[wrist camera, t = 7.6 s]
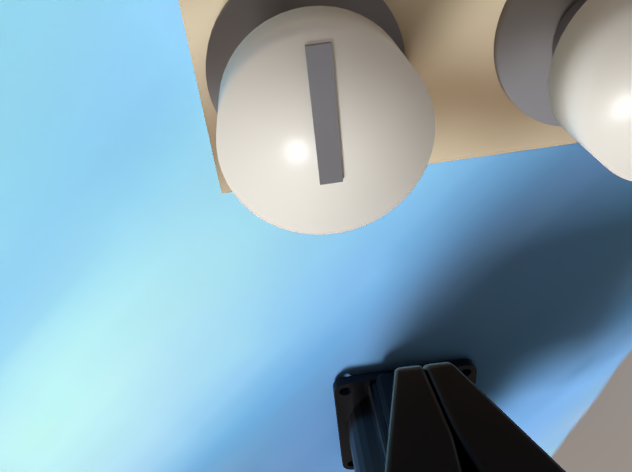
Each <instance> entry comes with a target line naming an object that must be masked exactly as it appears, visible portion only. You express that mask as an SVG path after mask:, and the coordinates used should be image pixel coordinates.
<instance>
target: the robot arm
mask: <svg viewBox="0 0 632 472" xmlns="http://www.w3.org/2000/svg"><path fill="white" fill-rule="evenodd" d="M475 382H476V367H475V365H474V363H473V361H472V360H470V359H458V360H452V361H445V362H439V363H432V364H426V365H416V366H407V367H399V368H397V369H393V370H387V371H380V372H374V373H367V374H361V375H355V376H348V377H342V378H339V379H337V380H336V381H335V382H334V383H333V391H334V399H335V407H336V415H337V424H338V432H339V440H340V448H341V456H342V463H343V466H344V468H346V469H354V470H355V472H566V471H565V470H563V469H562V468H561V467H560V466H559V465H558V464H557V463H556V462H555V461H554V460H553V459H552V458H551V457H550V456H549V455H548V454H547V453H546V452H545V451H544V450H543V449H542V448H541V447H539V446H538V445H537V444H536V443H535V442H534V441H533V440H532V439H531V438H530V437H529V436H528V435H527V434H526V433H525V432H524V431H523V430H522V429H521V428H520V427H519V426H517V425H516V424H515V423H514V422H513V421H512V420H511V419H510V418H509V417H508V416H507V415H506V414H505V413H504V412H503V411H502V410H501V409H500V408H499V407H498V406H497V405H495V404H494V403H493V402H492V401H491V400H490V399H489V398H488V397H487V396H486V395H485V394H484V393H483V392H482V391H481V390H480V389H479V388H478V387H477V386H476V385H475Z"/></svg>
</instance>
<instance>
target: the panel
mask: <svg viewBox="0 0 632 472" xmlns="http://www.w3.org/2000/svg"><path fill="white" fill-rule="evenodd" d="M577 1H578V0H179V5H180V9H181V14H182V18H183V23H184V27H185V32H186V36H187V41H188V45H189V49H190V54H191V58H192V63H193V67H194V72H195V76H196V81H197V85H198V89H199V94H200V98H201V103H202V107H203V112H204V116H205V121H206V125H207V130H208V134H209V138H210V143H211V147H212V152H213V156H214V161H215V165H216V170H217V174H218V179H219V183H220V187H221V192H222V193H228V192H232V190H231V189H230V187H229V186H228V184H227V182H226V180H225V178H224V175H223V173H222V171H221V167H220V164H219V161H218V155H217V148H216V128H217V114H218V100H219V91H220V84H221V80H222V77H223V73H224V70H225V68H226V66H227V64H228V61H229V59H230V58H231V56H232V54H233V53H234V51H235V50H236V48H237V47H238V46H239V44H240V43H241V42H242V41H243V39H244V38H245V37H246V36H247V35H248V34H250V33H251V32H252V31H253V30H254V29H255V28H256V27H258V26H259V25H261V24H262V23H263V22H265V21H266V20H268V19H270V18H272V17H274V16H276V15H278V14H280V13H283V12H286V11H289V10H292V9H296V8H301V7H306V6H332V7H338V8H342V9H347V10H350V11H352V12H355V13H358V14H360V15H362V16H364V17H366V18H368V19H369V20H371V21H373V22H374V23H375V24H377V25H378V26H379V27H381V28H382V29H383V30H384V31H385V32H386V33H387V34H388V35H389V36H390V37H391V38H392V40H393V41H394V42H395V44H396V45H397V46H398V48H399V49H400V50H401V51H402V53H403V54H404V55H405V57H406V58H407V59H408V61H409V62H410V63H411V65H412V66H413V67H414V69H415V70H416V71H417V73H418V74H419V75H420V77H421V78H422V80H423V82H424V84H425V86H426V88H427V90H428V92H429V95H430V98H431V101H432V104H433V110H434V115H435V138H434V144H433V149H432V153H431V156H430V159H429V162H428V164H432V163H439V162H446V161H453V160H460V159H467V158H474V157H481V156H488V155H495V154H502V153H509V152H516V151H523V150H530V149H538V148H545V147H552V146H559V145H566V144H573V143H578V142H577V141H576V140H575V139H574V138H573V137H572V136H571V135H569V134H568V133H567V132H566V131H565V130H564V129H563V127H562V126H561V125H560V124H559V122H558V121H557V119H556V117H555V115H554V113H553V110H552V108H551V104H550V100H549V91H548V80H549V71H550V66H551V61H552V58H553V57H552V44H553V39H554V35H555V32H556V29H557V27H558V25H559V23H560V21H561V20H562V18H563V17H564V15H565V14H566V12H567V11H568V10H569V9H570V8H571V7H572V6H573V5H574V4H575V3H576V2H577Z"/></svg>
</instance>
